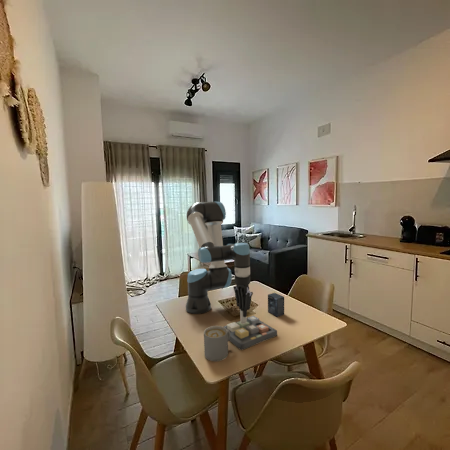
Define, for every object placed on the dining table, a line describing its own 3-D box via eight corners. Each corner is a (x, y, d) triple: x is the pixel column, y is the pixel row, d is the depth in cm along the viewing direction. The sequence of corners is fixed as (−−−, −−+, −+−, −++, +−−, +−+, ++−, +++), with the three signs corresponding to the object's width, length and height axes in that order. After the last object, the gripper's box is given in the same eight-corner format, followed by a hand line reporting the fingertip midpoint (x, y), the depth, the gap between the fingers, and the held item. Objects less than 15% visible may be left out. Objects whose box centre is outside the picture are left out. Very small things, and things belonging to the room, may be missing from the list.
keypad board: (219, 332, 127) (219, 327, 127) (253, 321, 138) (253, 316, 138) (241, 350, 112) (241, 343, 111) (277, 335, 123) (276, 329, 123)
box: (267, 312, 149) (267, 294, 148) (275, 309, 152) (274, 292, 151) (277, 317, 142) (276, 298, 141) (284, 314, 145) (284, 296, 144)
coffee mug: (213, 364, 103) (212, 340, 102) (200, 353, 111) (199, 330, 110) (239, 352, 111) (238, 329, 110) (225, 342, 119) (224, 321, 118)
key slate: (246, 321, 131) (246, 317, 131) (253, 319, 134) (253, 315, 134) (252, 325, 128) (252, 320, 128) (259, 322, 130) (259, 318, 130)
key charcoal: (245, 330, 122) (245, 326, 122) (253, 328, 125) (252, 323, 124) (251, 334, 119) (251, 330, 118) (258, 331, 121) (258, 327, 121)
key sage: (237, 326, 128) (237, 321, 128) (244, 323, 131) (244, 319, 130) (242, 329, 125) (242, 325, 124) (249, 327, 127) (249, 322, 127)
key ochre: (235, 334, 119) (235, 330, 119) (243, 331, 121) (242, 327, 121) (240, 338, 115) (240, 334, 115) (248, 335, 118) (248, 331, 118)
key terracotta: (255, 330, 126) (255, 325, 125) (262, 327, 128) (262, 323, 128) (261, 334, 122) (261, 329, 122) (268, 331, 124) (268, 327, 124)
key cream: (227, 328, 125) (226, 324, 125) (234, 325, 127) (234, 321, 127) (232, 332, 121) (232, 327, 121) (239, 329, 124) (239, 325, 123)
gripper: (228, 273, 129) (229, 319, 131) (244, 279, 118) (245, 329, 120) (240, 271, 133) (241, 315, 135) (257, 276, 122) (258, 325, 124)
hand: (243, 322), depth 127 cm, fingers closed
